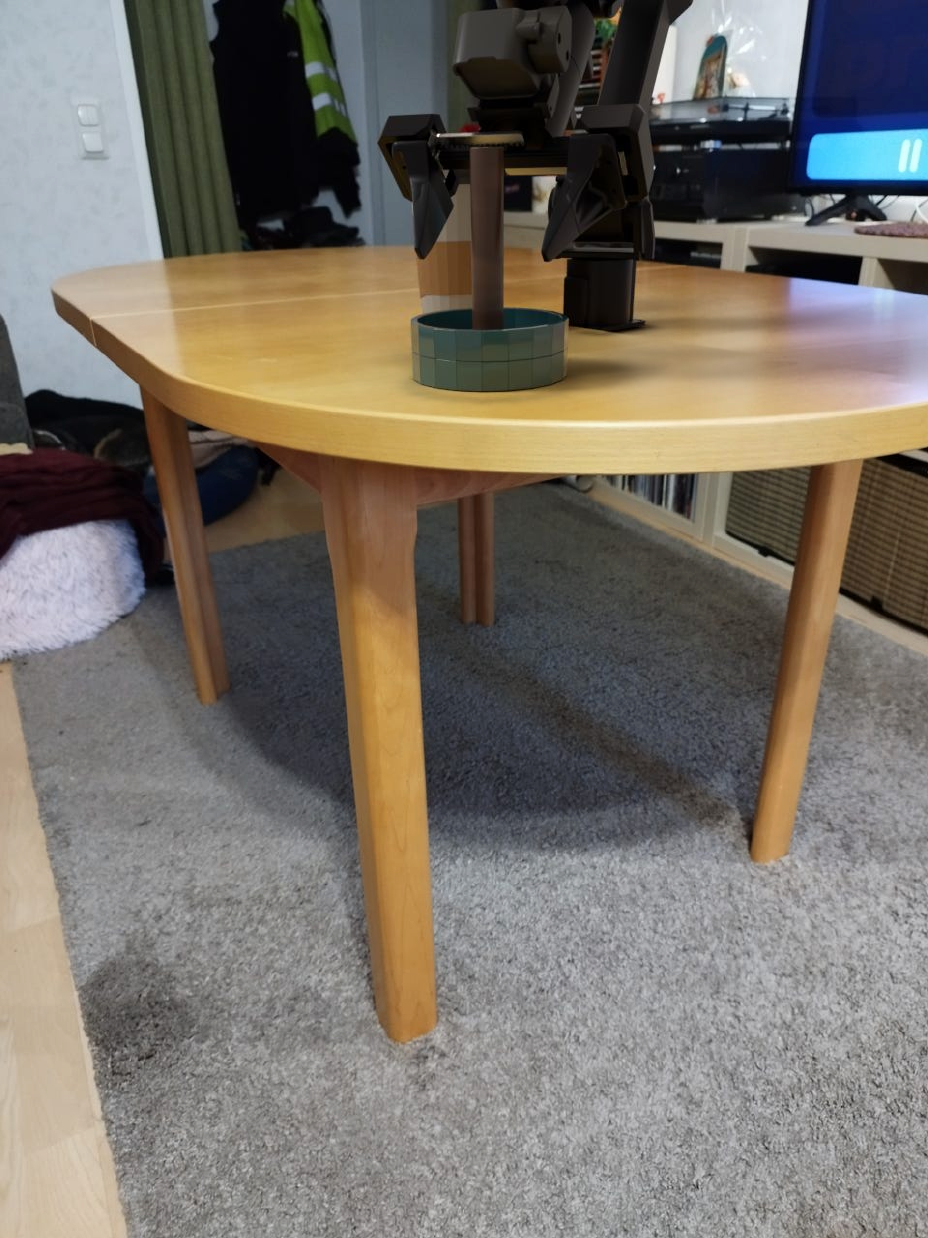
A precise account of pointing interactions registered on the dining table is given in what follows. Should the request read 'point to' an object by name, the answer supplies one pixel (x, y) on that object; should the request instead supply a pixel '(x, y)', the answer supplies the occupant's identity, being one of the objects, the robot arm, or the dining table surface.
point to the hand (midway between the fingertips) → (480, 256)
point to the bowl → (489, 350)
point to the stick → (487, 237)
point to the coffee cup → (449, 258)
